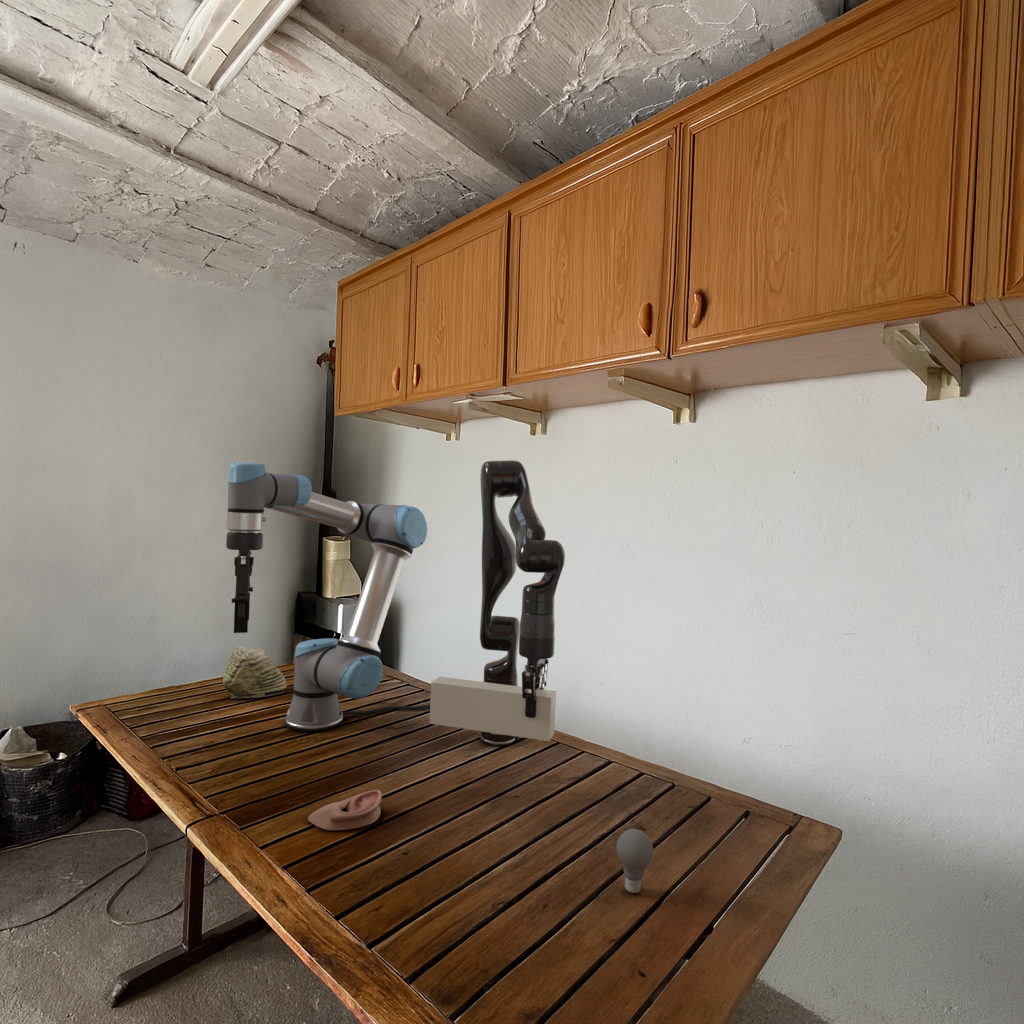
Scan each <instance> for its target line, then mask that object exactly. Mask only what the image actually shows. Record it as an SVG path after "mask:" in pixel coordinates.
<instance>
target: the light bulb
mask: <svg viewBox="0 0 1024 1024" xmlns="http://www.w3.org/2000/svg"><path fill="white" fill-rule="evenodd" d="M615 849H616V854H617V857H618V859H619V861H620V863H621V865H622V867H623V873H624V874H623V875H624V876H625V878H624V888H625V890H627V891H628V892H630V893H634V894H635V893H639V892H640V891H641V889H642V887H641V886H642V879H643V877H644V875H645V871H646V868H647V867H648V866H649V864H650V863H651V861H652V859H653V855H654V847H653V843H652V841H651V838H649V836H648V835H647V834H646V833H645V832H643V831H642V830H641V829H636V828H629V829H627V830H625V831H623V832H622V833H621V834H620V835H619V837H618V839H617V841H616V847H615Z"/></svg>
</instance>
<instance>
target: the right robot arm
mask: <svg viewBox="0 0 1024 1024" xmlns="http://www.w3.org/2000/svg"><path fill="white" fill-rule="evenodd" d="M480 468H481V469H480V476H479V477H480V478H479V479H480V480H479V481H480V498H481V501H480V502H481V519H482V529H481V531H482V532H481V533H482V534H481V606H480V607H481V609H480V622H479V626H480V627H479V643H480V646H481V648H482V649H483V650H486V651H497V652H506V655H504V656H503V657H501V658H499V659H495V660H492V661H489V662H487V663H485V665H484V667H483V681H482V682H487V683H495V684H503V685H511V686H519V661H520V659H519V658H520V657H523V658H526V659H527V661H526V664H525V665H524V670H523V671H522V672H521V687H522V698H525V699H526V704H525V716H526V717H529V718H535V716H536V704H537V694H538V689H543V690H546V689H545V688H546V687H547V681H548V669H549V662H550V661H549V659H551V658H553V657H554V656H555V638H556V617H555V612H556V594H557V591H558V587H559V581H560V579H561V575H562V573H563V571H564V567H565V564H566V559H567V556H566V549H565V547H564V545H563V543H562V542H560V541H559V540H556V539H546V537H547V531H546V528H545V525H544V523H543V521H542V519H541V517H540V515H539V513H538V511H537V509H536V506H535V502H534V497H533V494H532V489H531V485H530V482H529V478H528V475H527V472H526V469H525V467H524V465H523V464H522V463H521V462H520V461H518V460H512V459H511V460H489V461H488V460H487V461H484V462H483V463H482V466H481V467H480ZM513 497H517V498H515V501H514V503H513V504H512V506H511V507H510V510H509V513H508V525H509V527H510V529H511V532H512V534H511V533H510V531H509V529H508V528H507V527H506V525H505V523H504V522H503V520H502V518H501V516H500V515H499V512H498V509H497V502H496V499H497V498H498V499H499V498H500V499H501V498H513ZM512 535H513V536H512ZM518 569H520V570H521V572H524V573H528V574H543V575H542V577H541V579H540V580H538V581H535V582H532V583H528V584H526V585H524V586H523V589H522V596H521V615H520V618H518V617H517V616H508V615H507V616H506V615H494V610H495V607H496V605H497V603H498V601H499V600H500V598H501V596H502V594H504V591H505V590H506V589H507V588H508V586H509V585H510V584H511V583H512V581H513V579H514V577H515V576H516V574H517V570H518ZM529 689H531V692H532V693H529ZM480 741H481V742H482V743H484V744H486V745H489V746H495V747H502V746H503V747H504V746H510V745H512V744H514V743H515V742H519V737H516V736H510V735H503V734H496V733H490V732H483V731H480Z"/></svg>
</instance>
